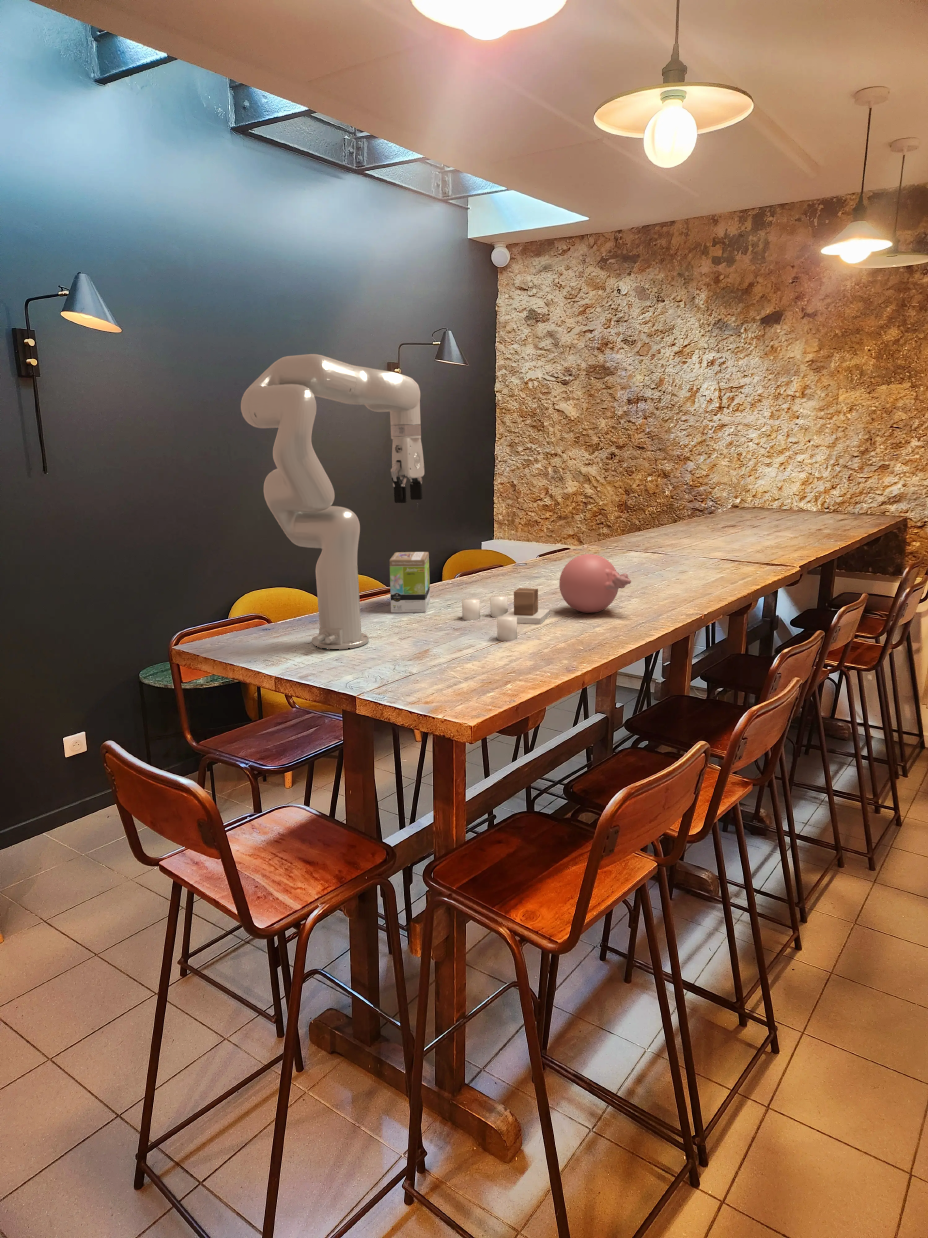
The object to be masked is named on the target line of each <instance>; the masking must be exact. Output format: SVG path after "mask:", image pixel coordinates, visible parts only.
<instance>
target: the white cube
mask: <svg viewBox="0 0 928 1238" xmlns="http://www.w3.org/2000/svg"><path fill="white" fill-rule="evenodd" d="M480 602H481V600H480V598H478V597H465V598H462V599H461V616H462V617H461V619H462V620H463V621H469V622H470V621H471V620H473V621H478V619H479V620H480V619H481V603H480Z"/></svg>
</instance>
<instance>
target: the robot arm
mask: <svg viewBox="0 0 928 1238" xmlns="http://www.w3.org/2000/svg"><path fill="white" fill-rule="evenodd" d="M316 397H319V398H323V399H327V400H331V401H334V402H339V403H342V404H347V405H358V406H359V405H361V406H363V405H364V406H365V407H366V408H367V409H368V410H370V411H373V412H375V413H376V412H378V413H386V412H389V414H390V415H389V417H390V439H391V440H392V446H391V447H392V449H391V468H390V475H391V481H392V487H393V496H394V497H393V498H394V499H393V501H394V503H396V504H406V503H407V502H408V497H407V496H408V494H407V492H408V491H407V486H405V485H406V482H407V478H408V479H409V480H410V484H409V490H410V492H409V493H410V497H409V498H410V500H412V501H413V500H414V501H415V500H418V501H419V500H420V501H421V500H423V481H424V480H423V477H424V475H425V463H424V462H425V461H424V451H423V444H422V429H421V427H422V426H421V402H420V400H421V390H420V386H419V383H417V382H416V381H415V380H414V379H413V377H410V376H407V375H405V374H401V373H398V372H394V371H389V370H383V369H377V368H373V367H372V368H371V367H366V366H360V365H353V364H350V363H347V362H344V361H341V360H337V359H335V358H332V357H328V356H325V355H322V354H317V353H310V354H309V353H307V354H297V355H296V354H295V355H287V356H282V357H281V358H279V359H277V360H275V361H274V362H272V364H270V365H269V367H268V368H267V369H265V370H264V371H263V373H261V374H260V375H259V376H258V378H256V379H255V380H254V381H253V382H252V383H251V384H250V385H249V386H248V388H247V389H246V390H245V391H244V393H243V395H242V397H241V401H240V412H241V414H242V417H243V419H244V420H245V422H247V424H249V425H251V426H252V427H254V428H258V429H275V428H276V429H277V428H278V429H277V433H276V437H275V439H274V443H273V448H272V459H273V462H274V464H275V467H276V468H275V469H273V470H271V472H269V473H268V474H267V475H266V477H265V479H264V483H263V496H264V500H265V502H266V505H267V507H268V509H269V510H270V512H271V513H272V515H273V517H274V518H275V520H276V521H277V523H278V525H279V526H280V528H281V530H282V531H283V533H284V534H285V536H286V537H287V538H288V539H289V541H291V543H292V544H294V545H296V546H298V547H303V548H312V549H321V552H320V555H319V557H318V559H317V562H316V564H315V579H316V580H315V581H316V583H315V584H316V594H317V608H318V609H317V610H318V611H317V612H318V621H319V622H318V624H319V628H318V634H317V635H313V637H311V643H312V644H313V646H314V647H316V646H317V647H316V648H318V647H320V648H319V649H322V648H328V649H327V650H330V649H339V650H349V649H348V648H350V649H355V648H359V647H362V646H365V645H366V644H368V643H369V636H368V635H367V634H366V633H362V622H361V621H362V620H361V619H362V618H361V605H360V604H361V603H360V587H359V586H360V585H359V572H358V571H359V569H358V551H359V550H358V549H359V541H360V534H361V533H360V532H361V525H360V521H359V520H360V519H359V518H358V516H357V514H356V513H355V512H354V511H352V510H351V509H350V508H347V507H344V506H338V505H333V503H334V501H335V495H336V494H335V490H334V486H333V484H332V482H331V480H330V478H329V476H328V474H327V473H326V471H325V468H324V467H323V464H322V463H321V462H320V460H319V458H318V455H317V454H316V452H315V450H314V447H313V444H312V437H313V436H312V433H313V428H314V423H315V419H316V414H317V401H316Z"/></svg>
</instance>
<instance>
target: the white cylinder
mask: <svg viewBox="0 0 928 1238" xmlns="http://www.w3.org/2000/svg"><path fill="white" fill-rule="evenodd" d="M489 600H490V601H489V607H490V608H489V610H490V611H489V612H490V615H489V616H490V617H491V616H492V618H497V617H499V616H503V615H504V614H506V613H507V612H508V611H509V610H508V609H509V603H508V601H509V599H508V596H507V595H504V594H501V595H500V594H498V595H495V594H494V595H491V596H489Z"/></svg>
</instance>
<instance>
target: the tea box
mask: <svg viewBox="0 0 928 1238" xmlns="http://www.w3.org/2000/svg"><path fill="white" fill-rule="evenodd" d="M429 557H430V553H429V551H405V552H404V551H401V552H398V551H397V552H394V553H393V555H392V556H391V558H390V559H389V585H390V591H389V592H390V593H389V594H390V613H392V614H394V613H398V614H399V613H400V614H401V613H402V614H403V613H426V611H427V610H428V607H429V604H430V601H431V592H430V591H431V590H430V588H431V585H430V584H431V583H430V582H431V581H430V558H429Z"/></svg>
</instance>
